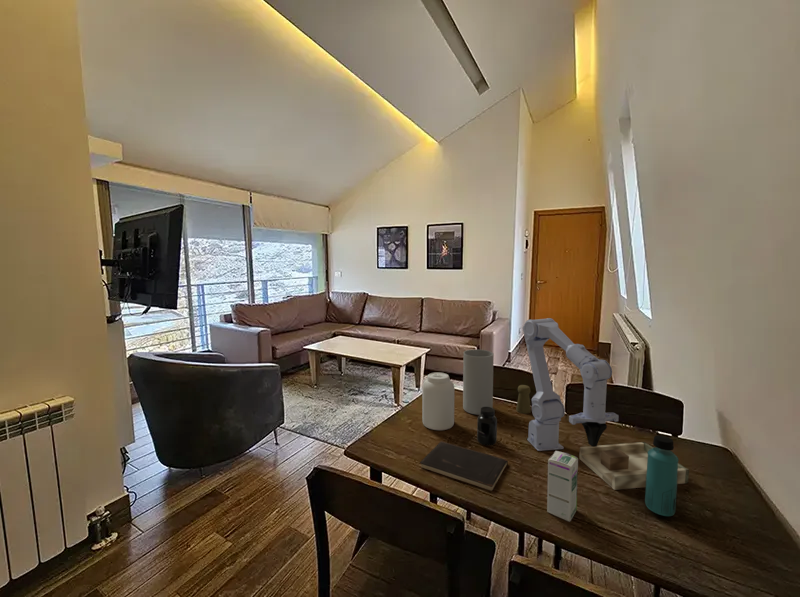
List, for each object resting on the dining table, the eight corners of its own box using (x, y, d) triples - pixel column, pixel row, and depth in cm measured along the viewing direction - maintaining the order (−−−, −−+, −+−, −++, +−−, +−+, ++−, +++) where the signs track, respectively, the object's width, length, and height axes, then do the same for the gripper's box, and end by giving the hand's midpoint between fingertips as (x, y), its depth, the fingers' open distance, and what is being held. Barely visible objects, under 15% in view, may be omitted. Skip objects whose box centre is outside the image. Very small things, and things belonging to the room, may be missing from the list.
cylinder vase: (486, 418, 146) (487, 358, 144) (458, 411, 153) (458, 354, 151) (496, 407, 157) (497, 351, 154) (469, 401, 164) (470, 348, 161)
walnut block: (609, 470, 106) (610, 457, 106) (600, 463, 110) (601, 450, 110) (628, 469, 107) (628, 456, 107) (618, 461, 111) (619, 449, 110)
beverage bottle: (677, 526, 86) (683, 447, 84) (643, 516, 90) (648, 440, 88) (673, 510, 92) (679, 436, 90) (642, 501, 95) (647, 429, 93)
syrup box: (570, 522, 88) (573, 467, 86) (545, 512, 92) (547, 458, 90) (576, 510, 92) (579, 457, 91) (553, 500, 96) (555, 449, 94)
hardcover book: (492, 493, 100) (492, 486, 100) (419, 469, 112) (419, 462, 112) (507, 465, 113) (507, 459, 113) (441, 446, 125) (441, 440, 125)
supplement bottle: (475, 444, 126) (475, 411, 125) (478, 435, 132) (479, 404, 131) (495, 447, 123) (496, 414, 122) (497, 438, 130) (498, 406, 128)
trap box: (614, 489, 100) (615, 476, 100) (579, 458, 116) (579, 447, 116) (687, 482, 103) (689, 469, 102) (643, 453, 119) (644, 442, 118)
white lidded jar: (416, 424, 141) (415, 375, 139) (434, 414, 151) (434, 368, 148) (442, 434, 133) (442, 382, 131) (460, 422, 142) (460, 374, 140)
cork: (528, 408, 156) (529, 383, 155) (532, 413, 150) (533, 388, 149) (514, 407, 157) (515, 383, 156) (517, 413, 151) (518, 388, 150)
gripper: (580, 408, 101) (578, 453, 102) (627, 405, 102) (624, 450, 104) (565, 398, 108) (563, 441, 109) (609, 395, 109) (607, 438, 111)
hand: (592, 444), depth 107 cm, fingers closed
